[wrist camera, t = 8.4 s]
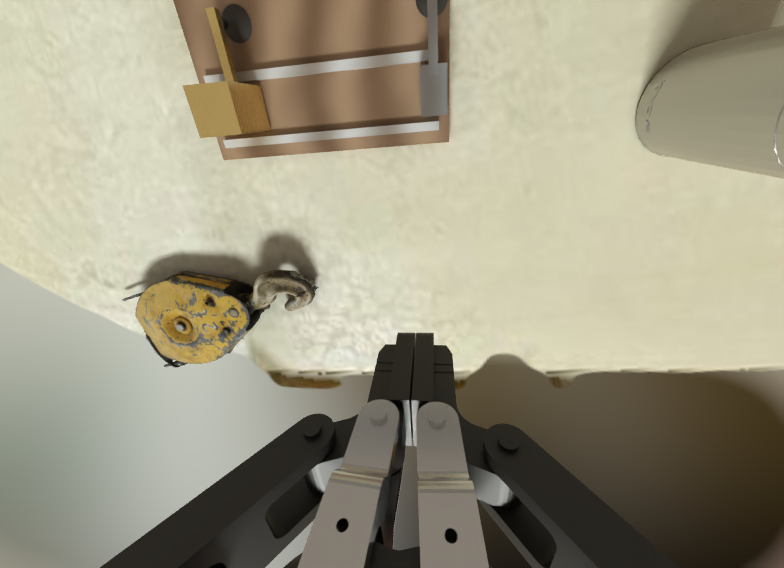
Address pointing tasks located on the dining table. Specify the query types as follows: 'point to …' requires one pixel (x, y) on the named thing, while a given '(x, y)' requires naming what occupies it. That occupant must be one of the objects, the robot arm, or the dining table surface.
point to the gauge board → (330, 71)
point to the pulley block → (211, 312)
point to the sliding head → (226, 95)
